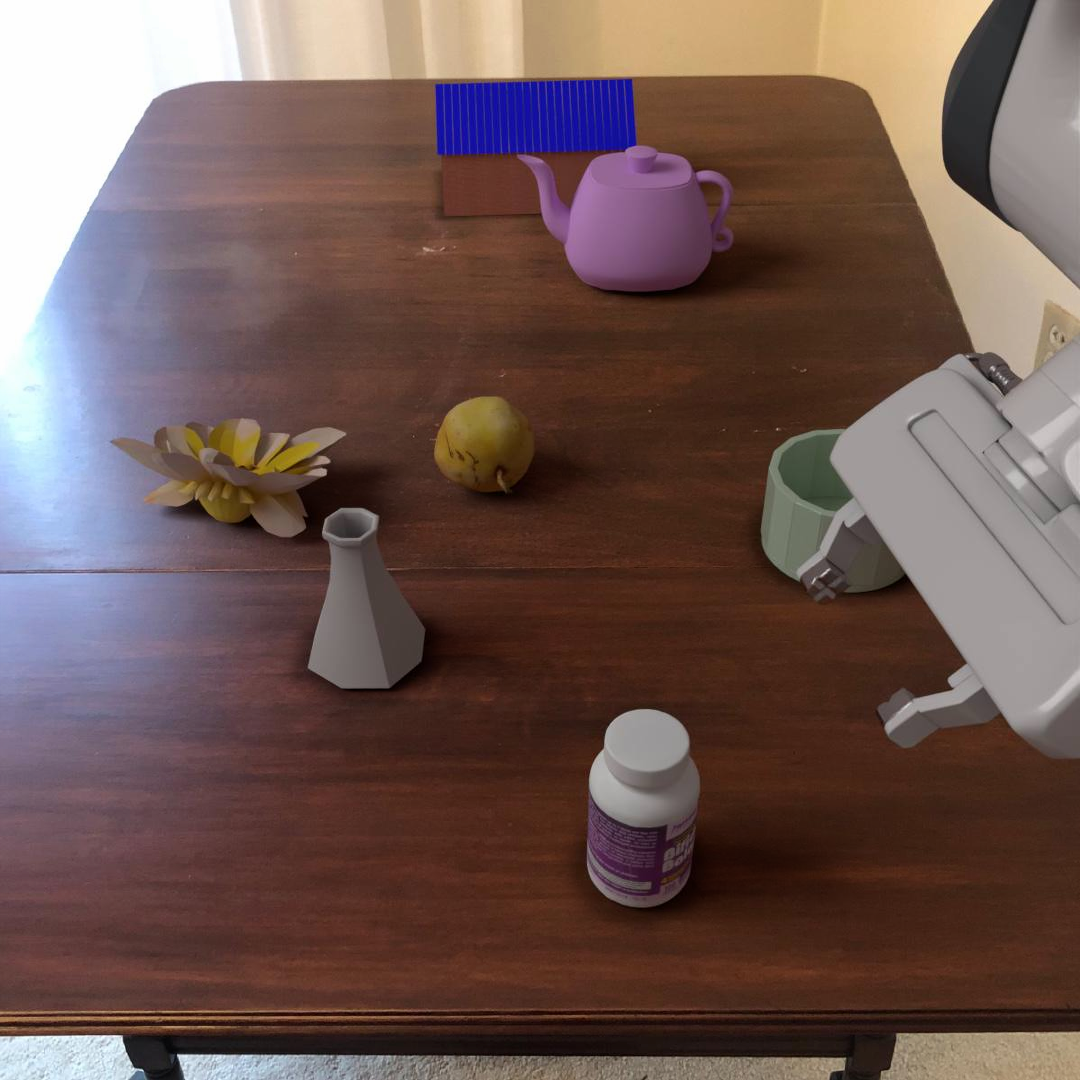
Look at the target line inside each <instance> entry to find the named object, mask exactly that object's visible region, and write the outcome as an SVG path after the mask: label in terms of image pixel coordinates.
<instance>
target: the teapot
mask: <svg viewBox="0 0 1080 1080" xmlns="http://www.w3.org/2000/svg"><path fill="white" fill-rule="evenodd" d="M517 157H518V158H519V159H520V160H521V161H523V162H524V163H525V164H526V165H527V166H529V167H530V169H531V170H532V171H533V173H534V174H535V177H536V179H537V182H538V187H539V193H540V203H541V211H542V213H541V216H542V220H543V223H544V225H545V226H546V228H547V231H549V233H550V234H551V236H553V237H554V239H556V240H557V241H559V242H560V243H562V245H564V252H565V255H566V259H567V262H568V263H569V266H570V267H571V269H572V270H573V272H574V273H575V274H576V276H577V277H578V278H579V279H580V281H582V282H583V283H585V284H587V285H589V286H591V287H595V288H598V289H600V290H604V291H621V292H638V293H639V292H640V293H641V292H656V291H657V292H658V291H673V290H676V289H678V288H682V287H686V286H688V285H691V284H692V283H694V282H695V281H696V280H697V279H698V278H699V277H700V276H701V275H702V273H703V272H704V270H705V269H706V268H707V267H708V266H709V263H710V261H711V257H712V252H713V253H723V252H726V251H727V250H729V249H730V248H731V247H732V245H733V243H734V233H733V231H732V230H731V229H730V228H729V227H726V226H723V224H724V222H725V220H726V218H727V216H728V214H729V212H730V209H731V206H732V203H733V199H734V189H733V185H732V184H731V182H730V180H729V179H728V178H727V177H726V176H725V175H723V174H722V173H720V172H718V171H715V170H709V169H707V170H700V171H697V172H695V170H694V169H693V167H692V165H691V163H690V162H689V161H688V160H687V159H686V158H685V157H683V156H681V155H678V154H674V153H667V152H658V150H657V148H655V147H652V146H649V145H637V146H633V147H630V148H628V149H626V151H625V152H622V153H612V154H606V155H602V156H599V157H596V158H595V159H594V160H592V161H591V163H590V165H589V166H588V168H587V170H586V172H585V174H584V176H583V178H582V180H581V182H580V184H579V186H578V188H577V190H576V193H575V195H574V198H573V200H572V203H571V207H570V208H569V207H568V206H566V205H565V204H563V203H562V202H561V201H560V199H559V197H558V195H557V192H556V187H555V180H554V176H553V172H552V170H551V168H550V167H549V166H548V164H547V163H546V162H544V161H543V160H541V159H539V158H536V157H532V156H528V155H517ZM703 183H704V184H705V183H712V184H715V185H717V186H718V187H720V188H721V189H722V198H721V202H720V205H719V207H718V209H717V211H716V213H715V216H714V217H713V219H712V222H711V216H710V211H709V208H708V203H707V201H706V199H705V195H704V192H703V190H702V188H701V185H700V184H703ZM718 236H724V237H725V239H723V240H721V241H718V240H717V237H718Z"/></svg>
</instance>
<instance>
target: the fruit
mask: <svg viewBox="0 0 1080 1080" xmlns="http://www.w3.org/2000/svg"><path fill="white" fill-rule="evenodd" d="M433 454H434V456H433V457H434V460H435V463H436V465H437V467H438V468H439V470H440V472H441V474H442V475H443V476H444V477H445V478H446V479H447V480H449V481H451V482H453V483H455V484H457V485H459V486H461V487H462V486H463V487H465V488H467V489H470V490H472V491H476V492H479V493H494V492H504V493H505V494H506V495H508V494H509V495H510V494H513V490H512V489H510V488H511V487H513V486H514V485H516V484H517V483H518V482H519V481H520V480H521V479H522V478H523V477H524V475H525V474H526V472H527V471H528V469H529V467H530V465H531V462H532V459H533V457H534V454H535V440H534V432H533V428H532V425H531V423H530V421H529V420H528V419H527V417H526V416H525V414H523V412H521V411H520V410H519V409H518V408H516V407H514V406H513V405H512V404H511V403H510V402H509V401H507V399H505V398H503V397H500V396H478V397H472V396H471V395H469V394H467V400H465V401H463V402H460V403H459V404H456V405H455V406H453V407H452V409H450V410H449V411H448V413H446V414H445V417H444V418H443V421H442V423H441V426H440V428H439V430H438V432H437V434H436V439H435V444H434V450H433Z"/></svg>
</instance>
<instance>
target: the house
mask: <svg viewBox="0 0 1080 1080" xmlns="http://www.w3.org/2000/svg"><path fill="white" fill-rule="evenodd" d="M434 88H435V89H434V91H435V121H436V151H437V152H436V154H437V156H440V162H441V164H440V165H441V181H442V195H443V197H442V198H443V211H444V217H470V216H473V217H474V216H504V215H505V216H506V215H537V214H538V215H539V214H541V215H542V211H541V203H540V193H539V187H538V182H537V179H536V177H535V174H534V173H533V171H532V170H531V169H530V167H529V166H527V165H526V164H525V163H524V162H523V161H521V160H520V159H519V158H518V157H517V155H528V156H532V157H536V158H539V159H541V160H543V161H544V162H546V163H547V164H548V166H549V167H550V168H551V170H552V172H553V176H554V180H555V187H556V192H557V195H558V197H559V199H560V201H561V202H562V203H563V204H565V205H566V206H568V207H569V208H570V207H571V203H572V200H573V198H574V195H575V193H576V190H577V188H578V186H579V184H580V182H581V180H582V178H583V176H584V174H585V172H586V170H587V168H588V166H589V165H590V163H591V161H592V160H594V159H595V158H596V157H599V156H602V155H606V154H612V153H622V152H625V151H626V149H628V148H630V147H633V146H638V145H637V133H636V116H635V101H634V100H635V99H634V86H633V78H614V79H613V78H612V79H607V78H606V79H577V80H576V79H575V80H573V79H571V80H569V79H568V80H539V81H537V80H535V81H500V82H499V81H497V82H464V83H463V82H462V83H461V82H459V83H458V82H457V83H435V84H434Z"/></svg>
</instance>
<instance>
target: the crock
mask: <svg viewBox="0 0 1080 1080" xmlns="http://www.w3.org/2000/svg"><path fill="white" fill-rule="evenodd" d="M846 429H847V428H836V429H835V428H833V429H816V430H811V431H808V432H805V433H801V434H799V435H794V436H792V437H789V438H788V439H787V440H786V441H784V443H782V444H781V445H780V446H778V447H777V448H776V449H775V450H774V451H773V453H772V456H771V460H770V462H769V465H768V471H767V477H766V478H767V479H766V487H765V495H764V503H763V510H762V518H761V526H760V533H761V534H760V542H761V545H762V546H761V547H762V548H763V551H764V553H765V555H766V556H767V558H768V559H769V561H770V562H771V563H772V564H773V565H774V566H775V568H777V569H778V570H779V571H780V572H782V573H783V574H785V575H786V576H788V577H789V578H791V579H793V580H795V581H797V582H799V580H798V578H797V576H796V571H797V570H798V568H799V567H801V566H802V565H803V564H804V563H805V562H806V561H808V560H809V559H810V558H811V557H812V556H814V555H815V554H816V553H817V552H818V551H819V550H820V549H819V548H820V546H821V543H822V541H823V539H824V537H825V535H826V533H827V531H828V529H829V527H830V525H831V522H832V520H833V518H834V516H835V514H836V512H837V511H838V510H840V509H841V508H842V507H843V506H844V505H845V504H847V503H848V502H849V501H850V500H851V499H852V498H854V497H853V495H852V494H851V492H850V491H849V489H848V488H847V486H846V485H845V484H844V482H843V481H842V479H841V478H840V476H839V475H838V473H837V472H836V470H835V469H834V467H833V466H832V464H831V463H830V455H831V452H832V450H833V448H834V445H835V443H836V441H837V439H838V437H839V436H840V435H841V434H842V433H843V432H844V431H845V430H846ZM845 574H846V573H845ZM905 575H906V573H905V571H904V570H903V568H902V567H901V566H900V564H899V563H898V561H897V560H896V558H895V557H894V555H893V554H892V552H891V551H890V549H889V548H888V546H887V545H886V544H885V542H884V541H883V540H882V541H881V542H879V543H878V544H877V545H876V546H874V547H870V546H869V545H868V544H866V543H865V544H864V546H863V548H862V549H861V551H860V552H859V554H858V556H857V557H856V559H855V561H854V562H853V564H852V566H851V567H850V569H849V571H848V572H847V574H846V576H847V578H848V579H849V581H850V583H851V586H850V587H849V588H848V589H846V590H845V591H844V592H843V593H845V594H846V593H864V592H870V591H876V590H879V589H882V588H886V587H888V586H890V585H892V584H894V583H896V582H897V581H899V580H900V579H901V578H902V577H904V576H905Z"/></svg>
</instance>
